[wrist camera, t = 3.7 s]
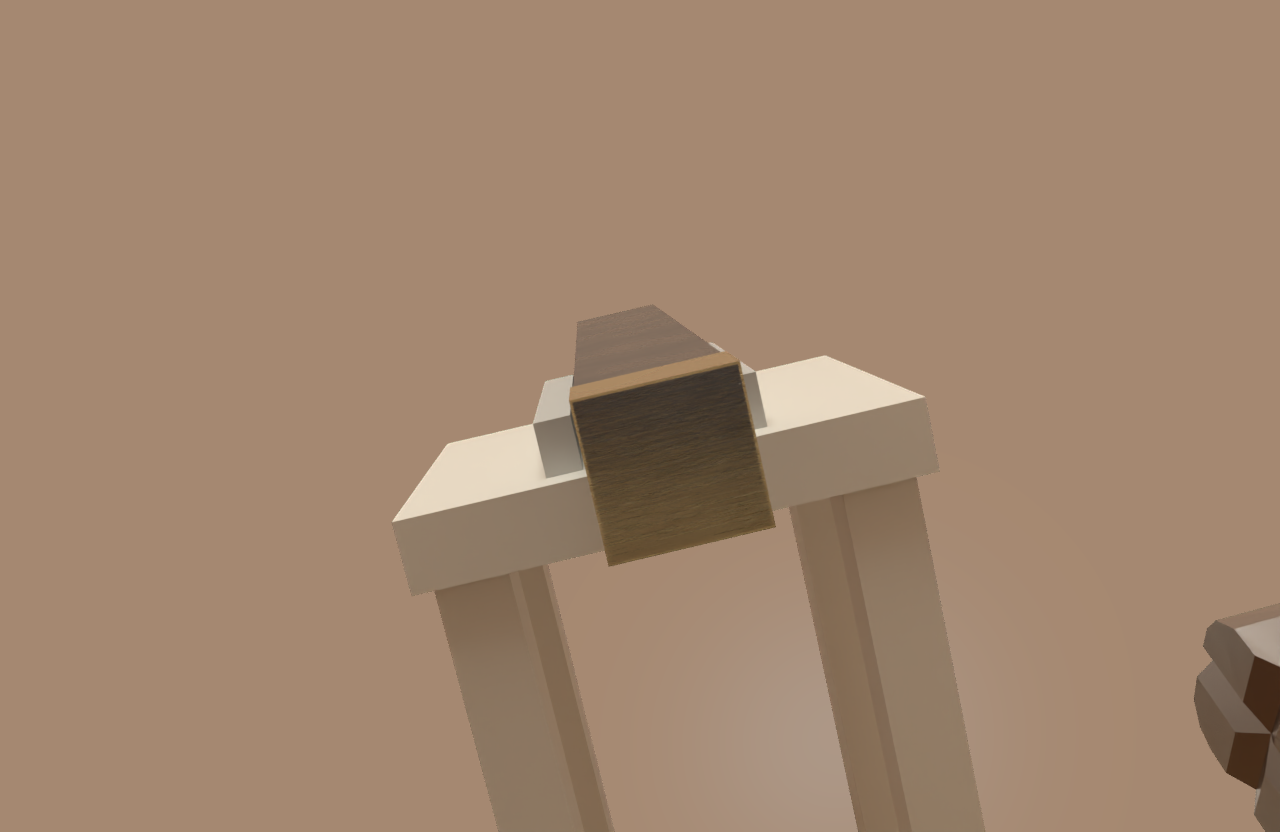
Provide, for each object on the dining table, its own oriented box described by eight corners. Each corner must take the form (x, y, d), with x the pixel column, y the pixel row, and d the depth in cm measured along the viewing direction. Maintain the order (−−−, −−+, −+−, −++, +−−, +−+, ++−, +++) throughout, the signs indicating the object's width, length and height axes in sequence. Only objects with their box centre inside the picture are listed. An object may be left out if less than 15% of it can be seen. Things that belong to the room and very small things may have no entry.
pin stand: (622, 1376, 32) (376, 465, 28) (611, 1076, 44) (437, 403, 40) (1090, 1260, 33) (914, 339, 29) (955, 992, 45) (816, 315, 40)
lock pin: (608, 566, 20) (569, 400, 20) (594, 398, 44) (575, 321, 44) (775, 527, 20) (739, 360, 20) (671, 380, 44) (654, 303, 44)
